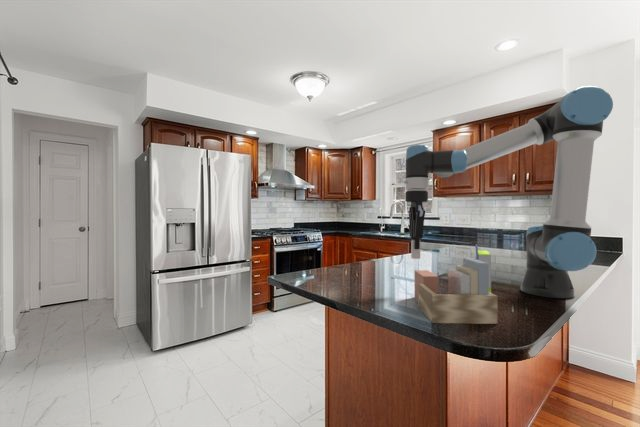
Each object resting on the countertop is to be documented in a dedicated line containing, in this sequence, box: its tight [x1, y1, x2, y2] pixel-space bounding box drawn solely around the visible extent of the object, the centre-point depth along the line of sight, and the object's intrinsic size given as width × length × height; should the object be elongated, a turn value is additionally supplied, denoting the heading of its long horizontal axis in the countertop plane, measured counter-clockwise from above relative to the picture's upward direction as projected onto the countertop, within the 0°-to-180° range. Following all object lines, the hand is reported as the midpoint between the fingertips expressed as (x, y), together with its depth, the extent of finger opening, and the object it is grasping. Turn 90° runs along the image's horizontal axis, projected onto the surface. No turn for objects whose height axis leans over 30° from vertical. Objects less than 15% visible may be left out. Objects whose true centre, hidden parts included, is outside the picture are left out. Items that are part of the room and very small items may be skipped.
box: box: [475, 244, 492, 293], centre depth 102 cm, size 10×4×17 cm, turn 157°
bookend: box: [447, 268, 470, 295], centre depth 85 cm, size 2×9×12 cm, turn 178°
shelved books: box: [455, 257, 489, 295], centre depth 85 cm, size 4×10×15 cm, turn 178°
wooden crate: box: [418, 284, 498, 325], centre depth 86 cm, size 16×13×7 cm
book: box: [414, 269, 439, 302], centre depth 99 cm, size 4×10×9 cm, turn 178°
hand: (415, 258), depth 110 cm, fingers closed
